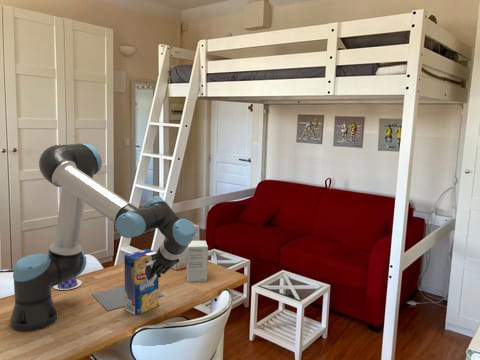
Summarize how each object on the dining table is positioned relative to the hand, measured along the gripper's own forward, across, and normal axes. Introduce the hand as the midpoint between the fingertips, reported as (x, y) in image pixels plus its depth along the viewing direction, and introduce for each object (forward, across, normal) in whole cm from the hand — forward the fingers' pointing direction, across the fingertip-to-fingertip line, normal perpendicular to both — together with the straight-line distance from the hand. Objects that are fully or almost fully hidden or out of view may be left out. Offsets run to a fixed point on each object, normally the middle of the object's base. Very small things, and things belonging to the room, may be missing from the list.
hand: (148, 281), depth 155 cm
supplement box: (+22, +33, +4) cm, 40 cm away
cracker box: (+33, +36, +16) cm, 52 cm away
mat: (+22, -1, +4) cm, 22 cm away
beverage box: (+12, -1, -6) cm, 13 cm away
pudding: (+39, -18, +21) cm, 48 cm away
